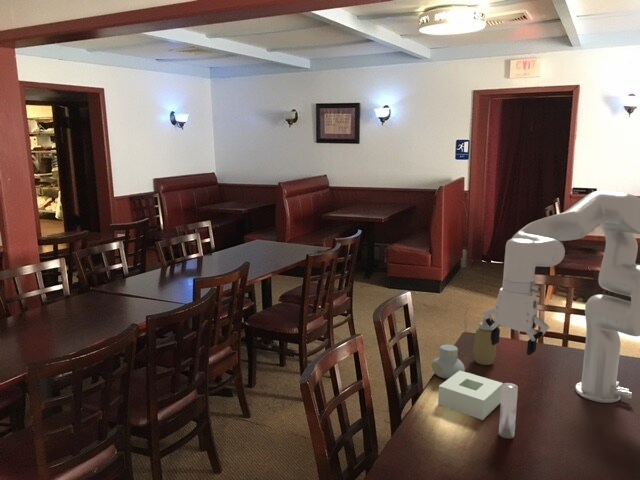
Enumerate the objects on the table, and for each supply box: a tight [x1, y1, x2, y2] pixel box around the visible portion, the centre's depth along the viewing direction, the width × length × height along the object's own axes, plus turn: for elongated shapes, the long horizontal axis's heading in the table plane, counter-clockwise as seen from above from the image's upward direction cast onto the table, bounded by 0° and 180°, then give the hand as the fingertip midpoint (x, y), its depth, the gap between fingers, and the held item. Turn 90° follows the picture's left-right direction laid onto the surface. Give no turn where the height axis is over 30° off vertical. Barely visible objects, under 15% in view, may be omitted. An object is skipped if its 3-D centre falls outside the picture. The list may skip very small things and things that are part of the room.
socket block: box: [437, 371, 504, 421], centre depth 162 cm, size 14×14×6 cm
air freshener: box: [431, 344, 466, 380], centre depth 180 cm, size 11×8×10 cm
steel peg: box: [498, 382, 519, 439], centre depth 144 cm, size 4×4×14 cm
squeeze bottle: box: [472, 316, 497, 366], centre depth 190 cm, size 8×8×18 cm
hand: (512, 348), depth 143 cm, fingers open, 9 cm apart
